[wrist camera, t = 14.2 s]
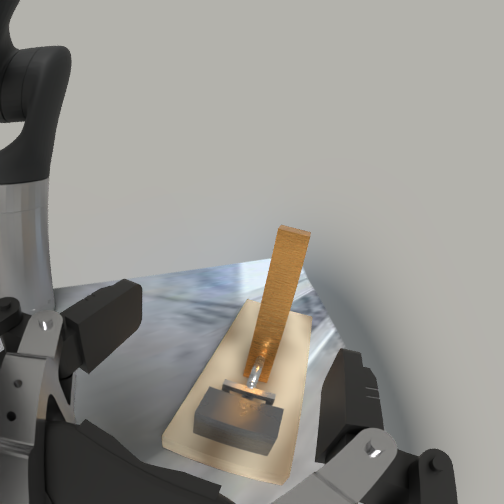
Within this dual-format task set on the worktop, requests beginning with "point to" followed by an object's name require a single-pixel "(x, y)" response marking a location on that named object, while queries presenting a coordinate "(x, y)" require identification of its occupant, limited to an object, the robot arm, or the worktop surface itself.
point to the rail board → (279, 382)
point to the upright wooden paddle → (273, 311)
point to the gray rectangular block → (237, 421)
